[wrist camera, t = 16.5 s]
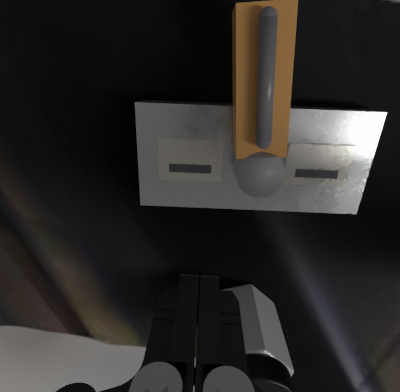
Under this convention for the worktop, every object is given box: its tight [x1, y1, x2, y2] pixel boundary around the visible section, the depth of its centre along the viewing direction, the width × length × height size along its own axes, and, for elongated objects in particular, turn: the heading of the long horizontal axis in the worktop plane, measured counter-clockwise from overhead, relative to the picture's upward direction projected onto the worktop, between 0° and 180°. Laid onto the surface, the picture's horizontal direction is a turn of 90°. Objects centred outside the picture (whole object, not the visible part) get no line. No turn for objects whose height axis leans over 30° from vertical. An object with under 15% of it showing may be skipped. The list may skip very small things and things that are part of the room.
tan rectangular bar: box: [232, 0, 298, 198], centre depth 22 cm, size 14×4×4 cm, turn 3°
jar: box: [223, 284, 295, 392], centre depth 31 cm, size 9×8×12 cm
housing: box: [135, 100, 387, 214], centre depth 27 cm, size 22×10×3 cm, turn 88°
